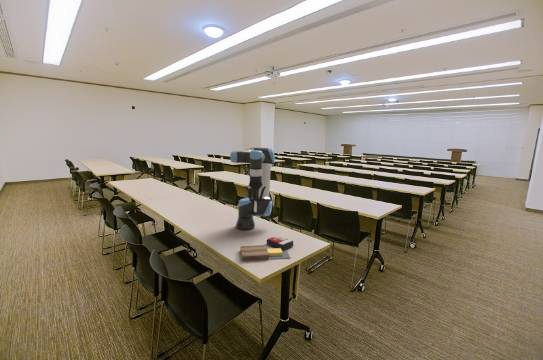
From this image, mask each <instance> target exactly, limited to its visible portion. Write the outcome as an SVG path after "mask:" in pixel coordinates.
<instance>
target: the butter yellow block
mask: <svg viewBox="0 0 543 360" xmlns="http://www.w3.org/2000/svg"><path fill="white" fill-rule="evenodd" d="M273 248H274V249H272V248H267V251H268V253H269V256H281V255H283V252H282V250H281V248H277V247H273Z"/></svg>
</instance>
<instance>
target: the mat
mask: <svg viewBox="0 0 543 360" xmlns="http://www.w3.org/2000/svg"><path fill="white" fill-rule="evenodd" d="M274 248H275V247H273V248H271V249H274ZM282 252H283V255H281V256H269V260H271V261H272V260H283V259H284V260H286V259H291V256H290V254H289V252H288V250H287V249H285V250H282Z"/></svg>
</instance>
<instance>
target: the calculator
mask: <svg viewBox="0 0 543 360" xmlns="http://www.w3.org/2000/svg"><path fill="white" fill-rule="evenodd" d="M266 245H269V246H272V247H273V248H281V250H285V249H286V250H287V249H289V248H291V247H294V240H292V239H289V238H288V237H287V238H286V237H284V236H281V235H275V236H273V237H269V238H267V239H266Z"/></svg>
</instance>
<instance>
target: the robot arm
mask: <svg viewBox="0 0 543 360" xmlns="http://www.w3.org/2000/svg"><path fill="white" fill-rule="evenodd" d="M229 157H230V159H229V160H230V163H233V164H249V183H248V185H246V186H245V189H246V191H247V196H248V197H244V198H242V199H240V200H238V205H237V206H238V207H237V208H238V210H237V211H238V212H237V213H238V215H237V216H238V217H237V221H236V223H235V228H236V229H238V230H241V231H251V230H253V229H255V228H256V223H255V220H254V216H259V217H260V216H262V217H269V216H270V215H271V212H272V208H273V201H272V199H271V197H270V186H271V185H270V184H271V168H272V166H274V164H275V161H276V160H275V159H276V158H275V150H274V148H272V147H271V148H269V147H250V148H245V149H244V150H241V151H237V150H235V151H231V152H230V155H229ZM250 189H251V191H252V192H251V191H250ZM251 193H252V195H251ZM255 197H256V198H255Z"/></svg>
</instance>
